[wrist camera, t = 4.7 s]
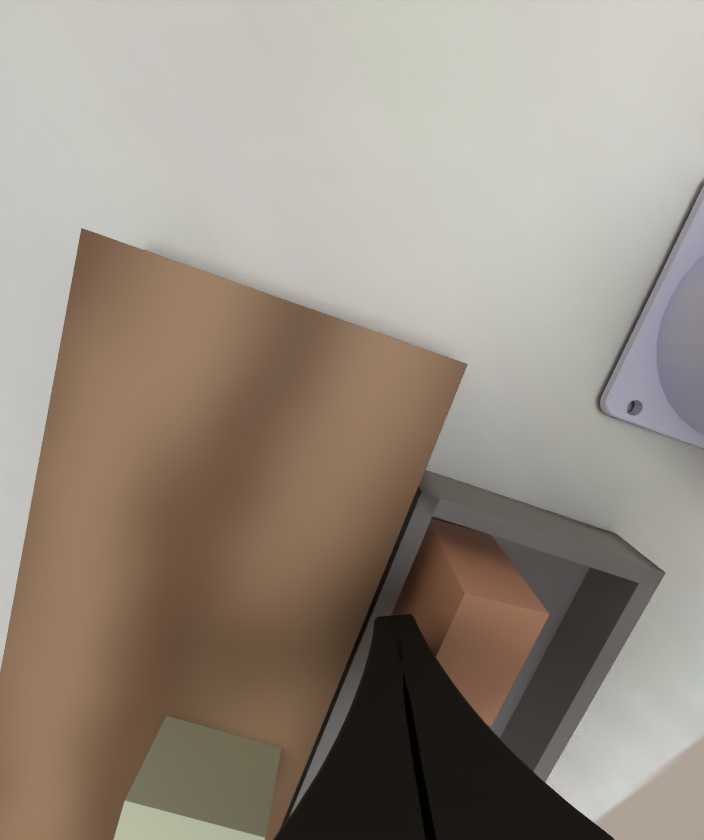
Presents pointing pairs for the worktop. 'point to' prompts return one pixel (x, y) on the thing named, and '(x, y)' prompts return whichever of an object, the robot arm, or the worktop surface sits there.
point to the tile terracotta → (472, 612)
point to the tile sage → (200, 787)
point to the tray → (554, 587)
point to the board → (199, 529)
